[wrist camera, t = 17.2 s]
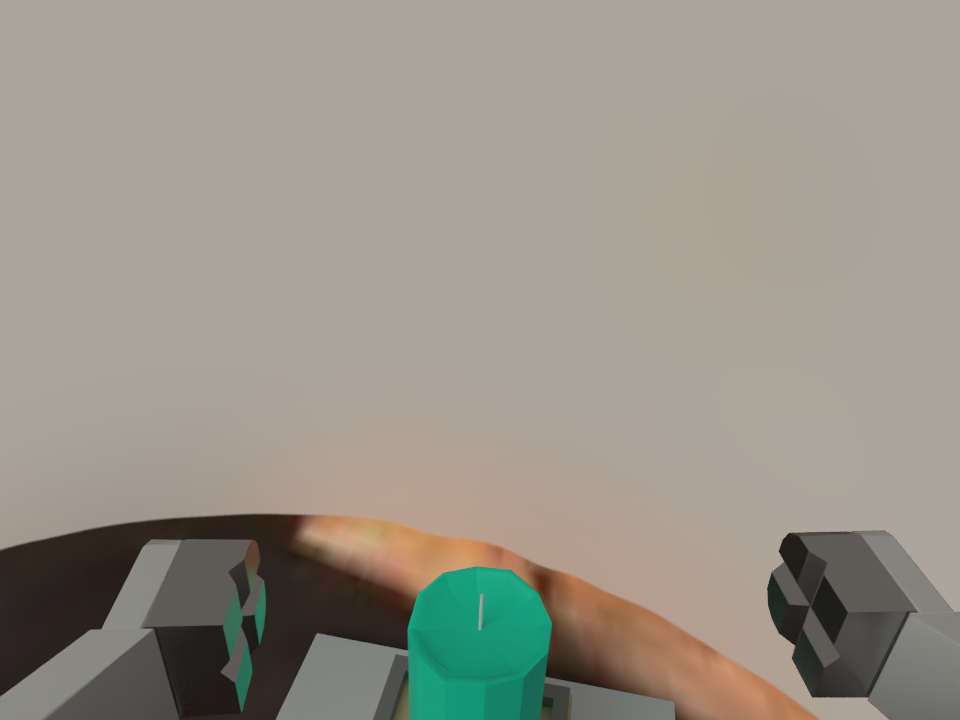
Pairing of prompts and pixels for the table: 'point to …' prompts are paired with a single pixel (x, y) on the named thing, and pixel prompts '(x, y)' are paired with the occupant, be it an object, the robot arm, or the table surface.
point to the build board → (368, 670)
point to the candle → (477, 648)
